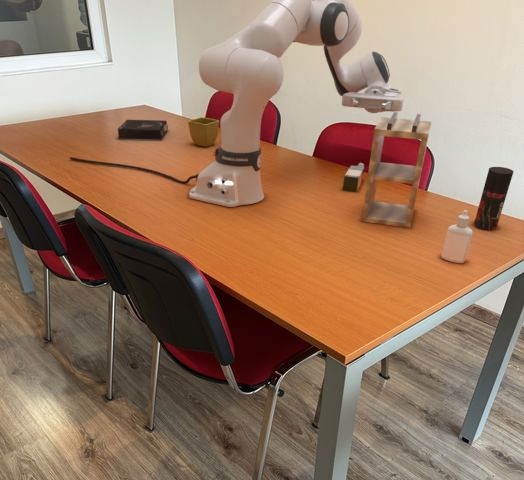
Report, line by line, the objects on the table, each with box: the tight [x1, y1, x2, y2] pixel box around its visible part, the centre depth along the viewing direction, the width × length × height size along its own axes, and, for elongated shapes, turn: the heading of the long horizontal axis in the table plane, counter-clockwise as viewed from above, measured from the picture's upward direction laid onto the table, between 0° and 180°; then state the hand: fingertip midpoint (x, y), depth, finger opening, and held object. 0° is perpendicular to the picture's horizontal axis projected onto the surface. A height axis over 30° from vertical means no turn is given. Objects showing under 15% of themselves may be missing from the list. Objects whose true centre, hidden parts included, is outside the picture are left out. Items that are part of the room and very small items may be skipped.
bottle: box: [342, 162, 365, 193], centre depth 168 cm, size 20×4×4 cm, turn 162°
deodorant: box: [473, 166, 514, 231], centre depth 136 cm, size 6×6×15 cm
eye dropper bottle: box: [440, 209, 474, 264], centre depth 119 cm, size 4×6×12 cm
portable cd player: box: [117, 119, 169, 142], centre depth 211 cm, size 16×17×4 cm
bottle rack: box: [361, 111, 432, 229], centre depth 138 cm, size 13×14×26 cm
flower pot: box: [187, 116, 220, 148], centre depth 199 cm, size 9×9×9 cm
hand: (369, 105), depth 167 cm, fingers open, 8 cm apart
